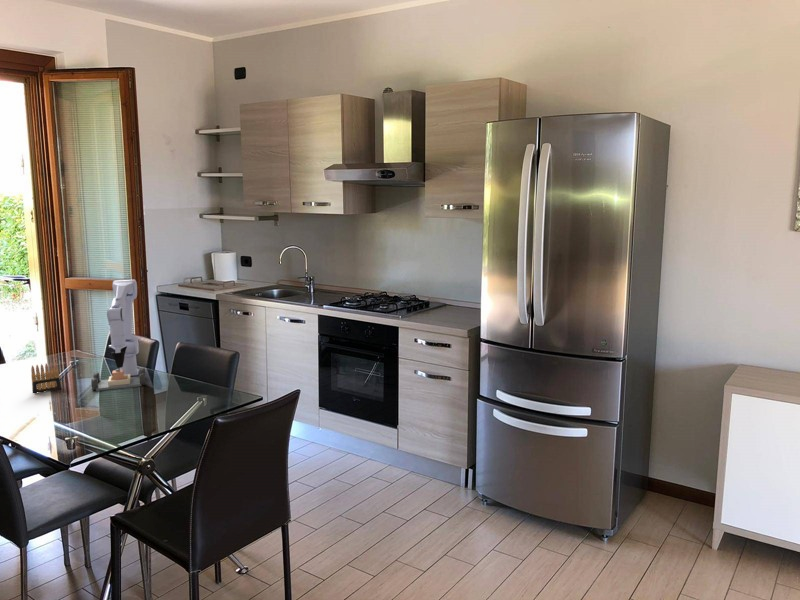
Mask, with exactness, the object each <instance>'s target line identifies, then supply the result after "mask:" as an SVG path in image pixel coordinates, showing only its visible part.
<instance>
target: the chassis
mask: <svg viewBox="0 0 800 600" xmlns="http://www.w3.org/2000/svg"><path fill="white" fill-rule="evenodd" d="M146 377H147V374H146V368H145V367H144V368H143V367H142V368H139V373H138V376H130V374H128V375H124V379H122V380H113V377H112V375H110V376H108V379H103V380H102V379H101V376H100V372H94V373H93V377H92V378H91V380H90V381H91V383H90V384H91V390H92V391H96V392H99V391H108V390H115V389H127V388H137V387H142V386H145V385H146V379H147V378H146Z"/></svg>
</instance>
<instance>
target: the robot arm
mask: <svg viewBox="0 0 800 600" xmlns="http://www.w3.org/2000/svg"><path fill="white" fill-rule="evenodd" d="M112 291H113V294H114V297H113V299H112V301H111V305H110V308H108V309H107V310H106V318H107V322H108V326H109V330H110V331H109V333H110V343H111V344H109V345H108V349H109V348H111V349H113V351H111V356H112V357H113V359H114V362H115V365H116V368H117V369H120V370H123V369H124V375H128V374H130V376H131V377H136V376H139V373H140V368H138V364H137V355H138V354H139V352H140V344H139V339H138V337H137V336H135V335H134V334H133V302H134V300H135V299H137V296H138V282H137V281H136V279H120V280H113V281H112Z"/></svg>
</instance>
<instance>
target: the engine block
mask: <svg viewBox="0 0 800 600" xmlns="http://www.w3.org/2000/svg"><path fill="white" fill-rule="evenodd" d="M111 372H112V373H111V376H112V377H113V380H122V379H124V369H123V370H120V368H117V369H115V370H112V371H111Z"/></svg>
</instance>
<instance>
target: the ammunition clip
mask: <svg viewBox="0 0 800 600" xmlns="http://www.w3.org/2000/svg"><path fill="white" fill-rule="evenodd" d="M49 364H50V365H48V363H45V365H44V366H45V367H44V366H43V364H42V363H41V364H40V367H39V365H38V364H36V365H35V367H34V365H31V370H30V371H31V389H32V394H33V393H35V394H38V393H37V392H41V393H45V392H44V391H46V392H52V391H57V390H62V386H61V380H60V373H59V366H58V364H57V362H56V361H55V362H54V366H53V363H52V362H50V363H49ZM44 368H45V369H44ZM51 390H52V391H51Z"/></svg>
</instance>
